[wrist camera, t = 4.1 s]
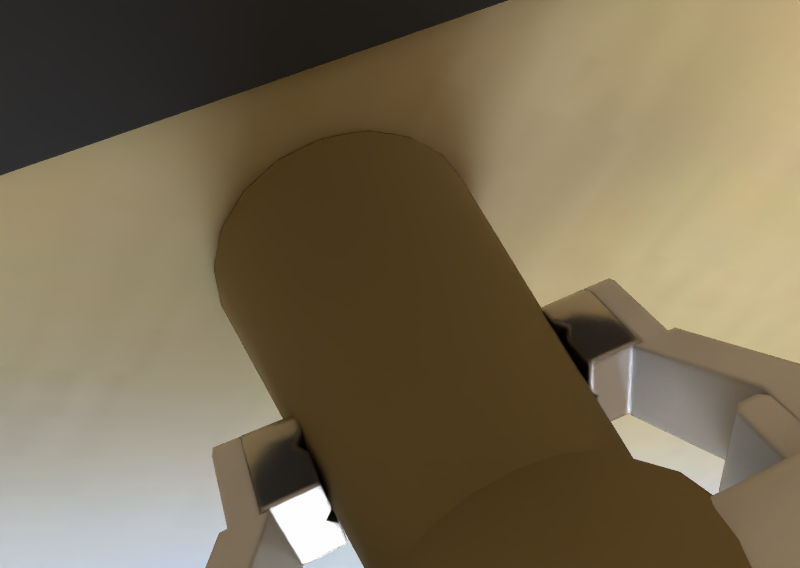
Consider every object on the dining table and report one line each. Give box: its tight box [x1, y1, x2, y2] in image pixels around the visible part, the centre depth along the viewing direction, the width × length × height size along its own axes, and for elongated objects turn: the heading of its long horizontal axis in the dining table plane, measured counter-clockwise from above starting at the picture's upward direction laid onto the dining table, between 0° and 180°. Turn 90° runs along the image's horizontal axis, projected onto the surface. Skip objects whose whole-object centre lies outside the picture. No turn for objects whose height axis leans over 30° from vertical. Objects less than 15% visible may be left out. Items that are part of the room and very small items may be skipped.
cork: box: [214, 131, 752, 568], centre depth 11 cm, size 6×6×11 cm
